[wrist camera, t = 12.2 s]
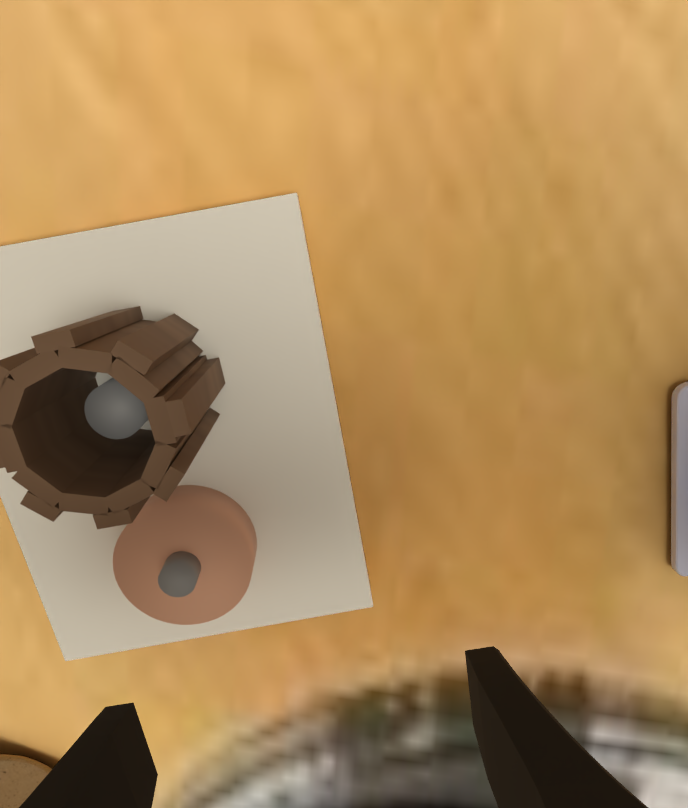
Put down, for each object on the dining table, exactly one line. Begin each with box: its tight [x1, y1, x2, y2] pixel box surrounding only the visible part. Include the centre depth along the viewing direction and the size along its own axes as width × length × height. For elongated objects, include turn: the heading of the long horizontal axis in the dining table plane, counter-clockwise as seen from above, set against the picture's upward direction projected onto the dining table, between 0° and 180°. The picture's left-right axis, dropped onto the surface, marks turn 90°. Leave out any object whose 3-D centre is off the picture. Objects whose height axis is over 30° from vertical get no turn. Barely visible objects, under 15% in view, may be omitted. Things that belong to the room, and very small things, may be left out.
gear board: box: [0, 193, 373, 661], centre depth 17 cm, size 12×15×4 cm
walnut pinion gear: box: [0, 306, 225, 529], centre depth 15 cm, size 5×5×5 cm
